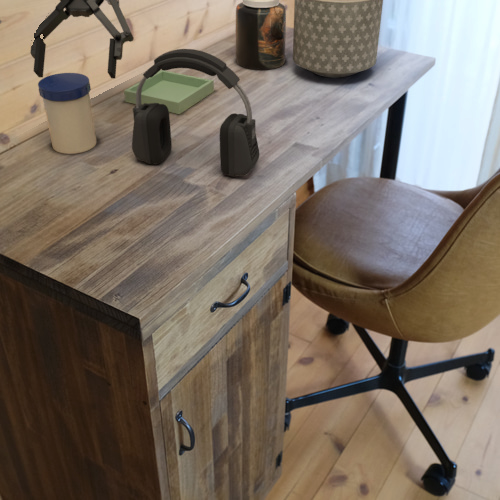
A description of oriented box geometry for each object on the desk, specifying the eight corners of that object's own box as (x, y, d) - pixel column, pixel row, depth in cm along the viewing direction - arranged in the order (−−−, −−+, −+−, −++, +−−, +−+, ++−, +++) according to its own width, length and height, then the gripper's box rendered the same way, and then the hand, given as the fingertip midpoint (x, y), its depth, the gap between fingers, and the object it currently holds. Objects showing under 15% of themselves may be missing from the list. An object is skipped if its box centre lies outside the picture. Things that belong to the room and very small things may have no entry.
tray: (125, 101, 136) (123, 90, 134) (162, 80, 145) (161, 69, 144) (179, 114, 130) (178, 102, 129) (214, 91, 140) (213, 80, 139)
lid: (29, 95, 112) (27, 85, 111) (63, 79, 119) (61, 69, 118) (67, 105, 109) (65, 94, 108) (100, 87, 115) (99, 77, 114)
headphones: (130, 163, 114) (116, 50, 102) (145, 147, 119) (134, 38, 107) (250, 182, 108) (250, 65, 96) (261, 164, 113) (262, 51, 101)
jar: (230, 68, 152) (229, 1, 143) (242, 51, 161) (241, -12, 152) (280, 71, 149) (281, 4, 141) (288, 55, 159) (290, -9, 150)
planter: (309, 53, 160) (313, -25, 149) (384, 64, 153) (394, -17, 143) (279, 79, 146) (281, -5, 135) (360, 92, 139) (369, 5, 129)
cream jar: (43, 148, 119) (30, 88, 112) (72, 131, 124) (62, 73, 117) (77, 157, 115) (66, 96, 109) (105, 140, 121) (96, 80, 114)
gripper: (153, -20, 125) (146, 84, 121) (26, -21, 126) (16, 82, 123) (145, -44, 117) (137, 66, 114) (10, -45, 118) (-1, 64, 115)
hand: (74, 75), depth 118 cm, fingers open, 13 cm apart
